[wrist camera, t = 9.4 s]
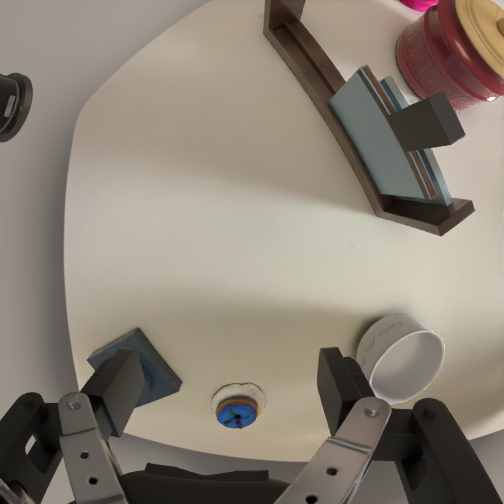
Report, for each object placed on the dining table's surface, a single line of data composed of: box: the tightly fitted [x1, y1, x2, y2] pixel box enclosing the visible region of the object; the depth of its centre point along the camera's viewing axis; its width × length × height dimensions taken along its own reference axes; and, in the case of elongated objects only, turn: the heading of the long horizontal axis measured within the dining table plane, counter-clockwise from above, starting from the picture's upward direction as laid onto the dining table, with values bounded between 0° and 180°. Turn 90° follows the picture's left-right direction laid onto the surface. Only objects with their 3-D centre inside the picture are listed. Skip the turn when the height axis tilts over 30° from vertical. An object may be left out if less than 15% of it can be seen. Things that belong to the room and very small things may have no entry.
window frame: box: [263, 0, 475, 236], centre depth 23 cm, size 26×4×14 cm, turn 31°
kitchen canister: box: [396, 0, 504, 111], centre depth 19 cm, size 13×13×18 cm
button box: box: [87, 328, 182, 408], centre depth 36 cm, size 10×10×4 cm
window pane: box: [327, 65, 466, 200], centre depth 21 cm, size 12×2×17 cm, turn 31°
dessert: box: [211, 383, 266, 429], centre depth 37 cm, size 8×7×6 cm
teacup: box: [356, 314, 445, 405], centre depth 33 cm, size 14×11×8 cm
